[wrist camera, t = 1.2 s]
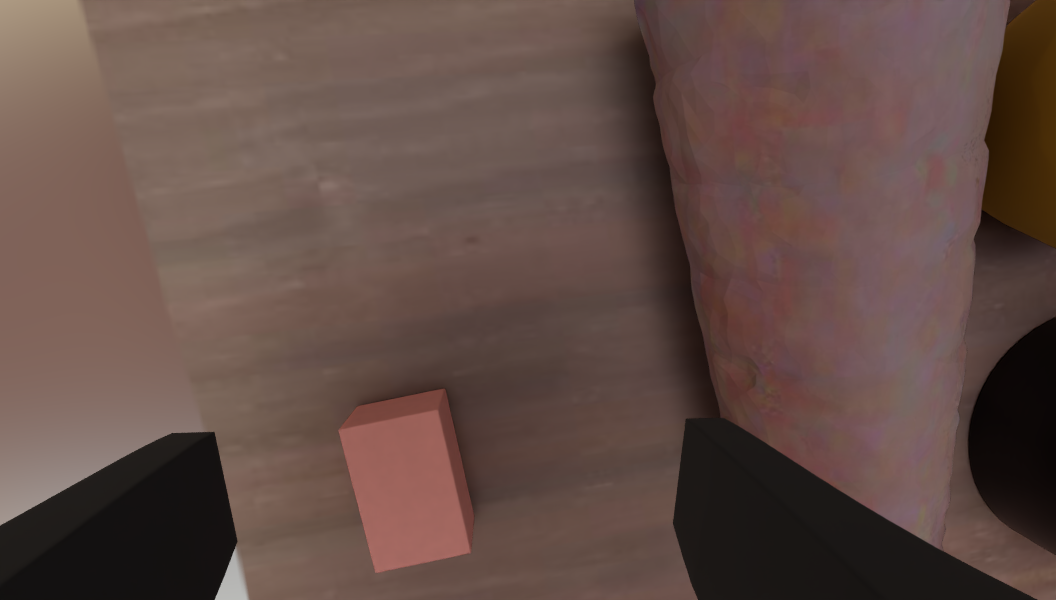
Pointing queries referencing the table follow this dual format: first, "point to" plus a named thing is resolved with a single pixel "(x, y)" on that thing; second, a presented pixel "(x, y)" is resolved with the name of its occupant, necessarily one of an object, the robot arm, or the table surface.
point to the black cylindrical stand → (1020, 438)
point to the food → (833, 223)
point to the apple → (1025, 127)
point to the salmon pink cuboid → (409, 480)
